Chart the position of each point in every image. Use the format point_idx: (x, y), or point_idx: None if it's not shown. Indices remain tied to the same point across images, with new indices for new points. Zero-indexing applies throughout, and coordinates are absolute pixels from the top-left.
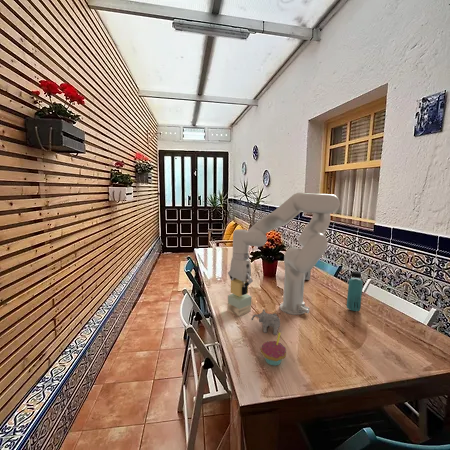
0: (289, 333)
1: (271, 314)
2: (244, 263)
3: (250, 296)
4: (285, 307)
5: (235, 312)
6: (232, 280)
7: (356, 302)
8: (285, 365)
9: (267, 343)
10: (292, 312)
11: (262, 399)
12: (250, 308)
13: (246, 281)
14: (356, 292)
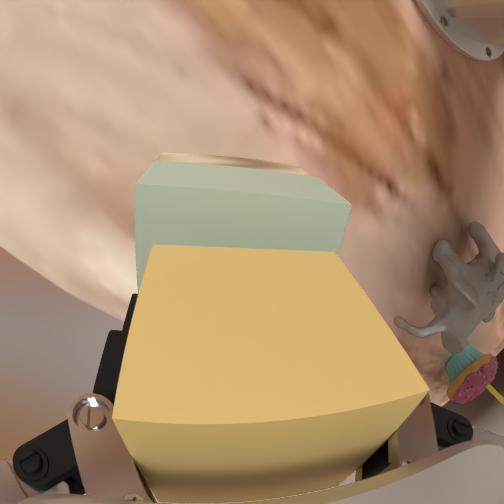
0: (498, 227)
1: (497, 301)
2: None
3: (345, 215)
4: (467, 28)
5: None
6: (165, 496)
7: None
8: (478, 343)
9: (468, 397)
10: (486, 46)
11: (441, 405)
12: (303, 172)
13: (413, 450)
14: None
